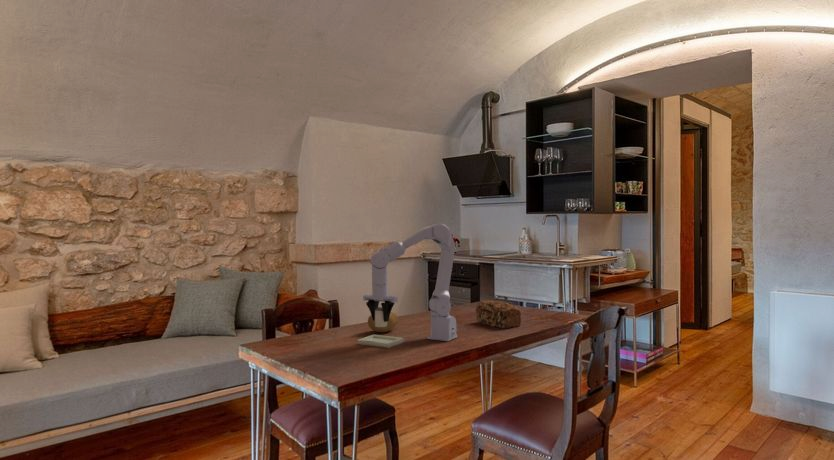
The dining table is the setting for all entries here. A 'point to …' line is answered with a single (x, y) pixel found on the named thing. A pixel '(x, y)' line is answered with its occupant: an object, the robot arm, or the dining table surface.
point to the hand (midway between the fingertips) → (380, 320)
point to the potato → (390, 324)
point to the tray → (380, 341)
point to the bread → (498, 314)
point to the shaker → (379, 318)
